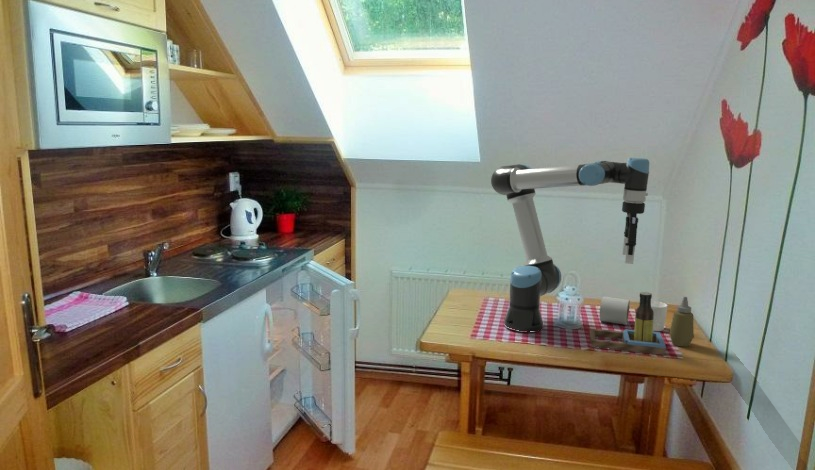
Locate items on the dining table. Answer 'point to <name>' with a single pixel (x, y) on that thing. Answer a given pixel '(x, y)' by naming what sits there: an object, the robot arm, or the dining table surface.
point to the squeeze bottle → (682, 325)
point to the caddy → (627, 341)
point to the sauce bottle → (644, 319)
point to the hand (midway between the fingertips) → (627, 259)
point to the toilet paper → (614, 310)
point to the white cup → (659, 315)
